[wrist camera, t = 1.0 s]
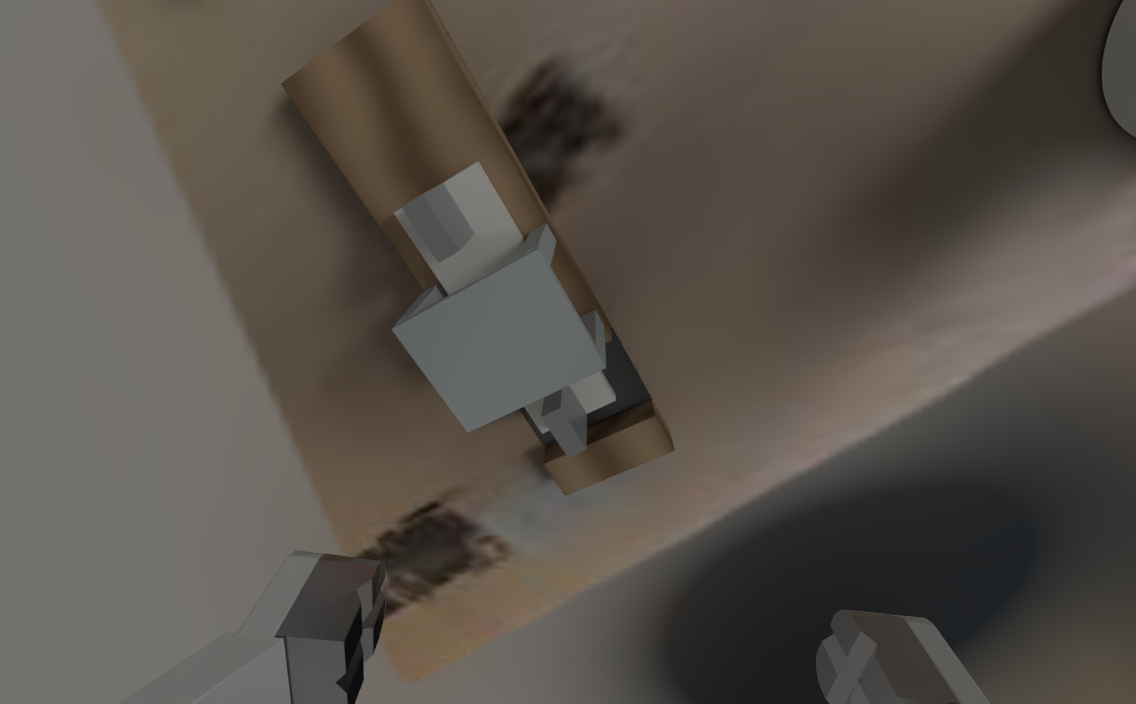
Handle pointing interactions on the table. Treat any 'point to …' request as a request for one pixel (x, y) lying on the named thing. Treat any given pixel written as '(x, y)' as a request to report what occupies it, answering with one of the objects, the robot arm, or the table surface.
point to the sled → (474, 249)
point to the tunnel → (503, 337)
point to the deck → (435, 154)
